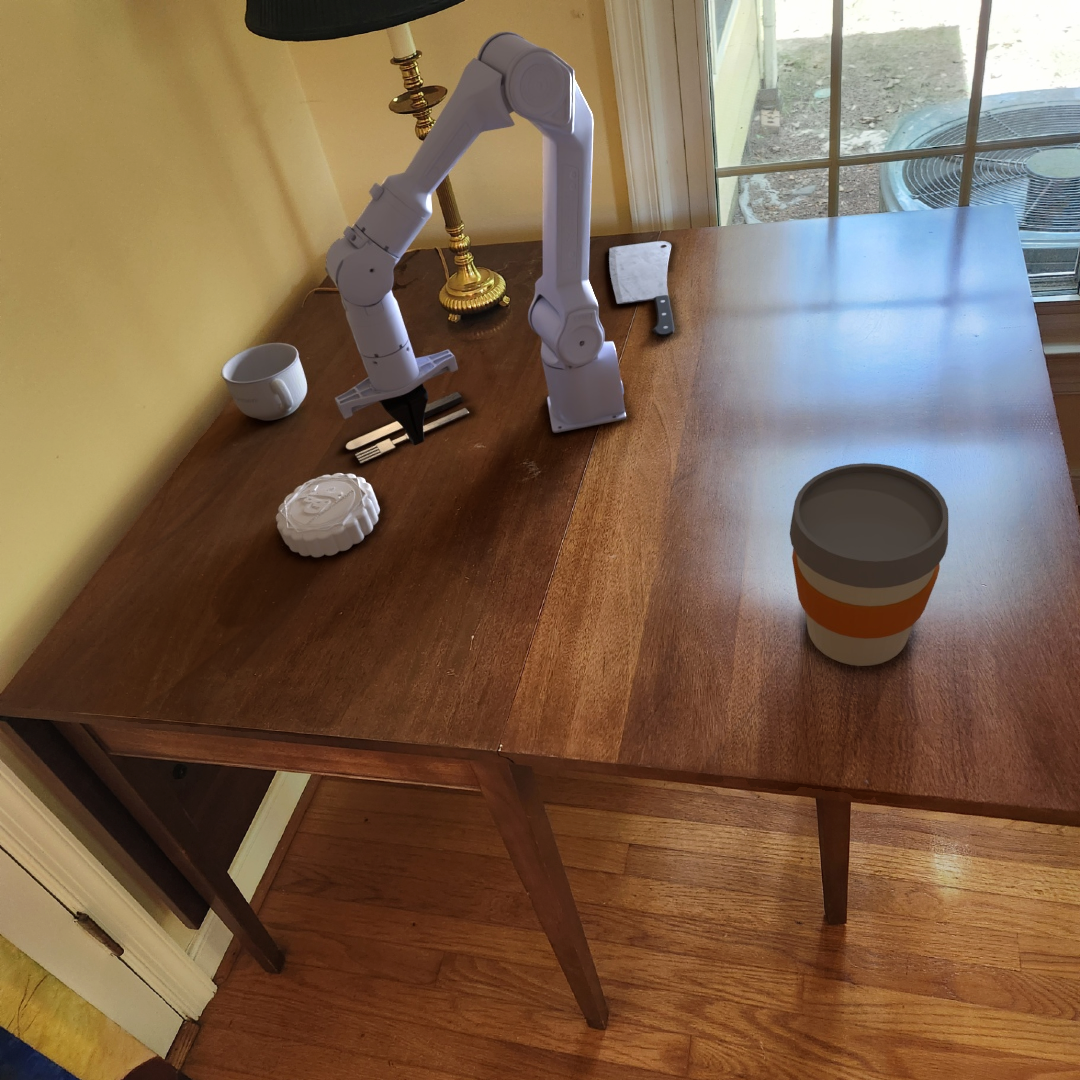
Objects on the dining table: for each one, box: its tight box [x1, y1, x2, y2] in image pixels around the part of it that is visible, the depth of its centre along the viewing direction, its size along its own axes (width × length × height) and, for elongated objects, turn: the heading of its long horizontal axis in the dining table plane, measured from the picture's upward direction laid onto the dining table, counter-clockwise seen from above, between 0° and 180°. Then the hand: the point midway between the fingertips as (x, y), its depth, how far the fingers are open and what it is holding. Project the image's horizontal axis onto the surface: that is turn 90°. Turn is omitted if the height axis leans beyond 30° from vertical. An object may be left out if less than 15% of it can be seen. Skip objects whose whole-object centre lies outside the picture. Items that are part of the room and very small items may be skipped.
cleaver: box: [608, 240, 676, 338], centre depth 136 cm, size 29×1×10 cm
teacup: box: [220, 342, 308, 421], centre depth 126 cm, size 14×11×8 cm
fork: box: [354, 407, 470, 465], centre depth 119 cm, size 16×2×1 cm, turn 117°
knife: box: [345, 391, 464, 452], centre depth 121 cm, size 17×2×1 cm, turn 117°
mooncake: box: [275, 472, 381, 558], centre depth 107 cm, size 12×12×4 cm
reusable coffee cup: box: [789, 462, 949, 667], centre depth 79 cm, size 13×13×15 cm
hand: (416, 439), depth 109 cm, fingers closed
